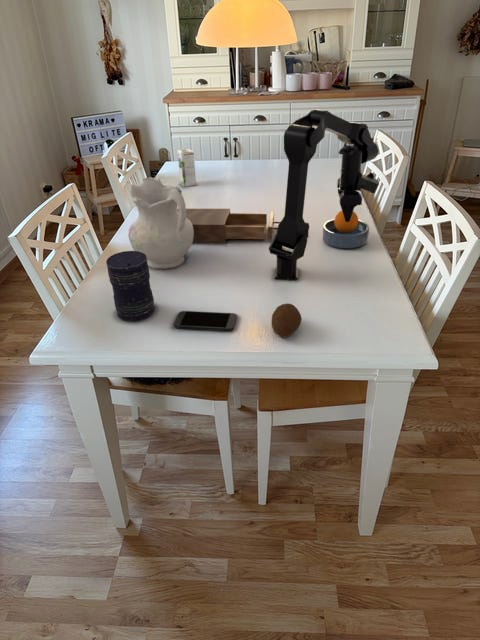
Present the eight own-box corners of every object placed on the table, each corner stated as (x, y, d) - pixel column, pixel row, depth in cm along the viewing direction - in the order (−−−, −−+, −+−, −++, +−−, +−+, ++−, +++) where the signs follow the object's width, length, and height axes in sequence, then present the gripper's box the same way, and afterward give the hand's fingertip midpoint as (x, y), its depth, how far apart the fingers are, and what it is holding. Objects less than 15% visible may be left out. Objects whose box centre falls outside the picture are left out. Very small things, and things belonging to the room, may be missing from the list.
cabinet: (231, 226, 170) (230, 208, 167) (225, 243, 158) (224, 224, 155) (179, 226, 172) (177, 208, 169) (170, 243, 160) (167, 224, 157)
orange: (358, 236, 151) (360, 214, 147) (334, 236, 152) (335, 214, 148) (356, 228, 157) (358, 206, 153) (333, 227, 158) (334, 205, 154)
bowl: (369, 250, 150) (371, 235, 147) (323, 249, 151) (324, 235, 149) (365, 232, 161) (366, 218, 159) (322, 232, 163) (322, 217, 160)
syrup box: (180, 183, 214) (176, 150, 206) (192, 181, 216) (189, 148, 208) (184, 187, 210) (180, 152, 202) (197, 184, 212) (194, 150, 204)
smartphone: (179, 312, 123) (179, 309, 123) (237, 315, 121) (237, 312, 121) (172, 329, 117) (171, 325, 117) (233, 332, 115) (233, 329, 115)
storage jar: (114, 306, 127) (103, 255, 119) (150, 298, 130) (142, 247, 122) (120, 325, 120) (108, 272, 111) (158, 316, 122) (150, 263, 114)
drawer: (286, 225, 167) (286, 211, 164) (285, 241, 156) (285, 227, 153) (224, 224, 170) (223, 211, 167) (218, 240, 158) (217, 226, 156)
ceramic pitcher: (214, 260, 151) (211, 179, 139) (176, 282, 136) (169, 194, 124) (159, 247, 160) (152, 171, 148) (118, 267, 146) (107, 184, 134)
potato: (301, 318, 119) (302, 293, 115) (301, 343, 110) (302, 317, 107) (273, 317, 120) (273, 292, 116) (270, 341, 111) (270, 316, 108)
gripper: (382, 176, 135) (376, 229, 143) (375, 158, 150) (369, 207, 159) (342, 176, 136) (338, 228, 145) (338, 159, 152) (335, 207, 160)
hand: (346, 217), depth 152 cm, fingers closed on orange, 7 cm apart
